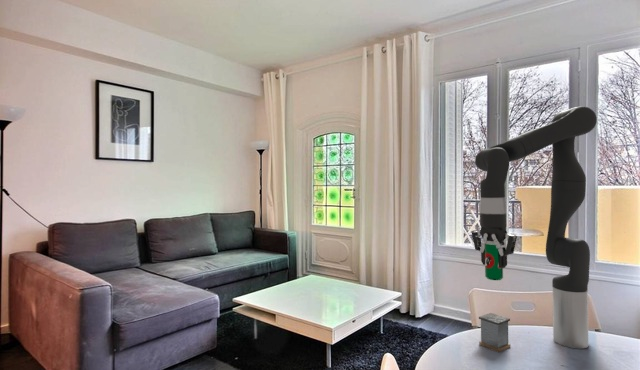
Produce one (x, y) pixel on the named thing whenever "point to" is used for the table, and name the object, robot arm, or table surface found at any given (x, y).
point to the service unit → (494, 332)
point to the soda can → (492, 262)
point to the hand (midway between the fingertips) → (493, 265)
